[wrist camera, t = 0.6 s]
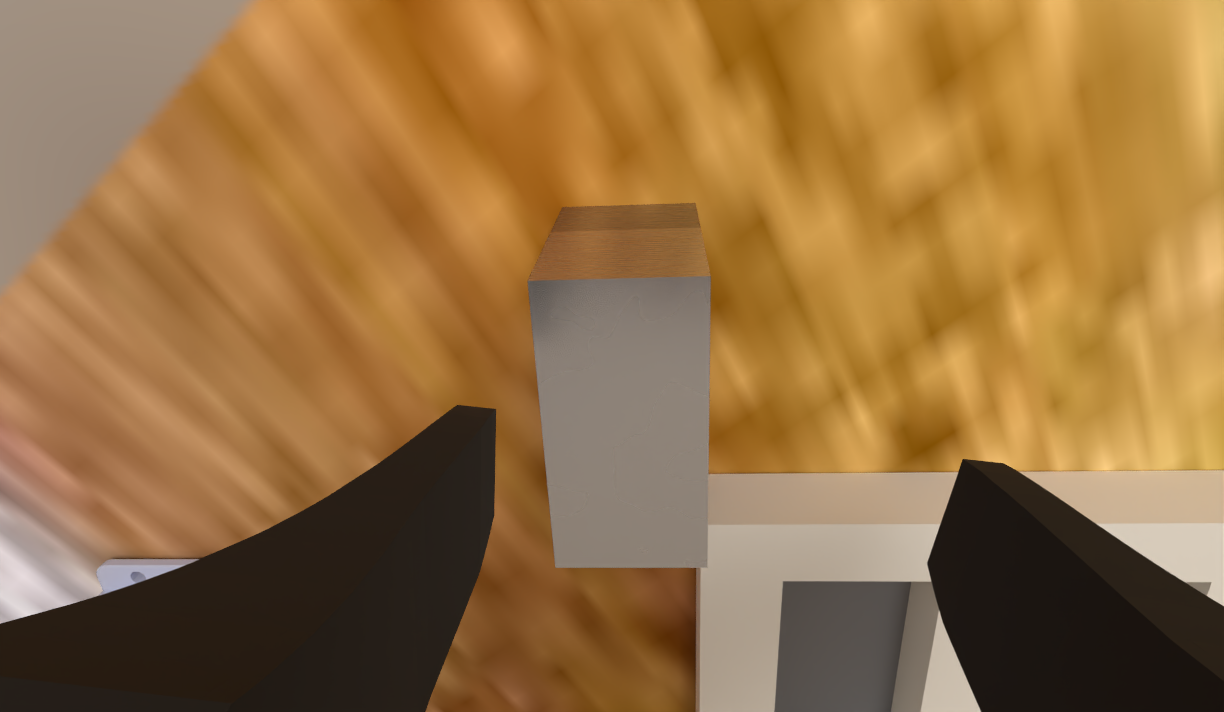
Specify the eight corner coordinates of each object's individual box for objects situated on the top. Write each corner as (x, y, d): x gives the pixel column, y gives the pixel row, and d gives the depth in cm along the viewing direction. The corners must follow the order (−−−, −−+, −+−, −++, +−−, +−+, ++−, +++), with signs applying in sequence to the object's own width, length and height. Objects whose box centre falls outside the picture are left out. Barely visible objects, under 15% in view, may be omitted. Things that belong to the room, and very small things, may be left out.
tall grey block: (579, 434, 23) (555, 567, 17) (562, 206, 20) (527, 280, 14) (694, 432, 22) (707, 567, 17) (695, 202, 20) (710, 276, 14)
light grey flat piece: (695, 746, 28) (699, 811, 26) (696, 473, 23) (700, 524, 21) (1151, 754, 27) (1196, 822, 25) (1258, 470, 22) (1328, 522, 20)
